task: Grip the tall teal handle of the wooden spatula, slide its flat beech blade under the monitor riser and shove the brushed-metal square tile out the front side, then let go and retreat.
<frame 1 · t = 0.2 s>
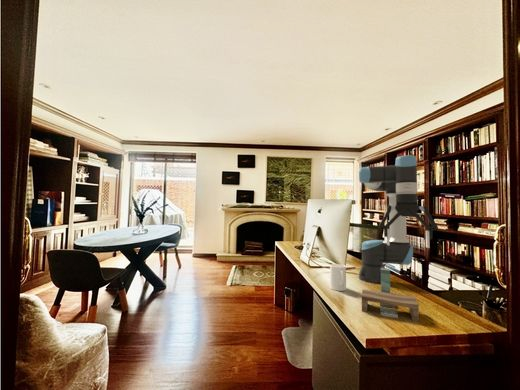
hand: (407, 246, 97), 28 cm above the table, fingers open, 13 cm apart
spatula: (385, 293, 121), on the table
tile: (388, 314, 98), on the table
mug: (338, 289, 127), on the table
riser: (388, 311, 100), on the table
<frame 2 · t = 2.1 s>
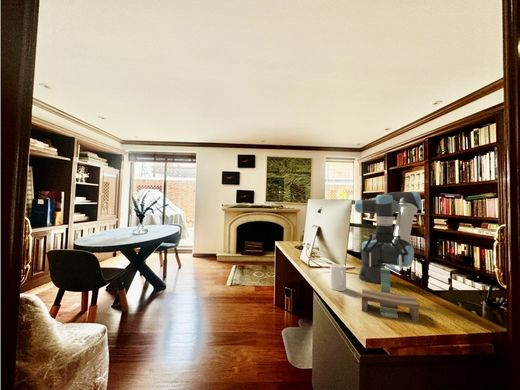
hand: (385, 267, 122), 13 cm above the table, fingers open, 13 cm apart
nothing on the table moved.
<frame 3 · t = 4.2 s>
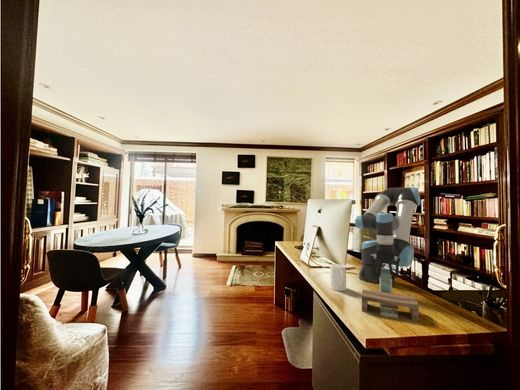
hand: (385, 290, 121), 2 cm above the table, fingers closed on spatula, 4 cm apart
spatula: (385, 293, 121), on the table, touching gripper
everything else where it was.
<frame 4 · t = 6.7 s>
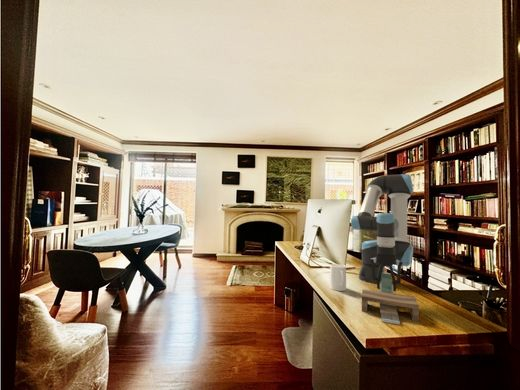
hand: (386, 296, 112), 2 cm above the table, fingers closed on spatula, 4 cm apart
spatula: (386, 300, 112), on the table, touching gripper
tile: (389, 320, 92), on the table
everything else where it was.
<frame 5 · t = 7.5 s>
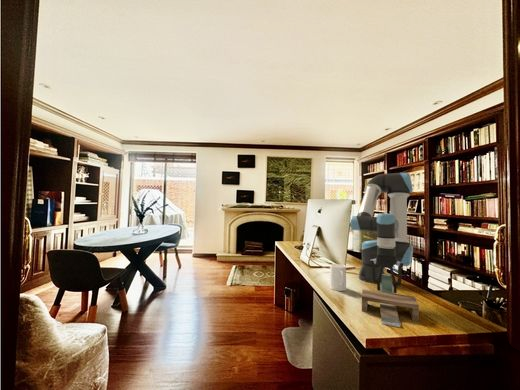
hand: (386, 298, 110), 2 cm above the table, fingers closed on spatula, 4 cm apart
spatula: (386, 302, 110), on the table, touching gripper
tile: (390, 323, 91), on the table
everything else where it was.
when the fingers open (2 cm above the table, at t = 9.5 s): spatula stays where it is, on the table.
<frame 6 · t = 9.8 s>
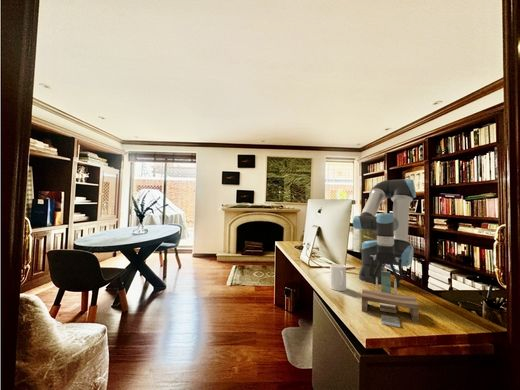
hand: (386, 292, 117), 2 cm above the table, fingers open, 7 cm apart
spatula: (386, 297, 116), on the table
everything else where it was.
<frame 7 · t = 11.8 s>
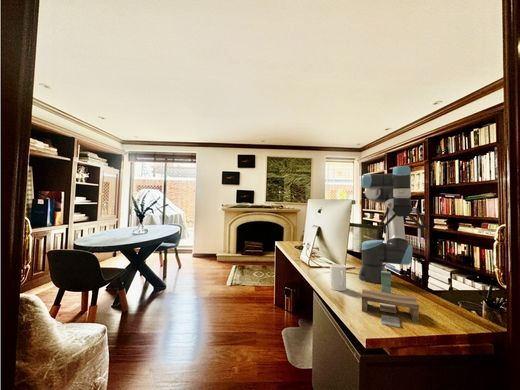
hand: (402, 241, 117), 27 cm above the table, fingers open, 13 cm apart
nothing on the table moved.
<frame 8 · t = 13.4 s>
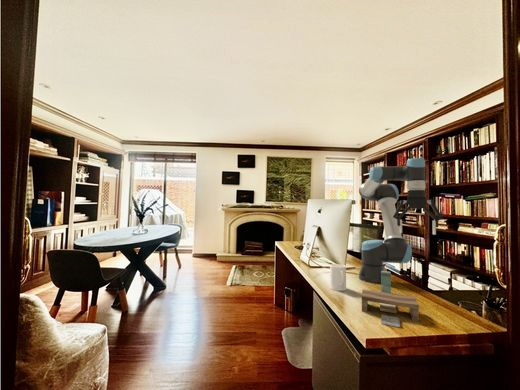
hand: (417, 233, 117), 31 cm above the table, fingers open, 13 cm apart
nothing on the table moved.
at the end: tile inside the target area (3.3 cm from its centre), on the table; tile moved 8.2 cm from its start; the gripper is holding nothing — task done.
